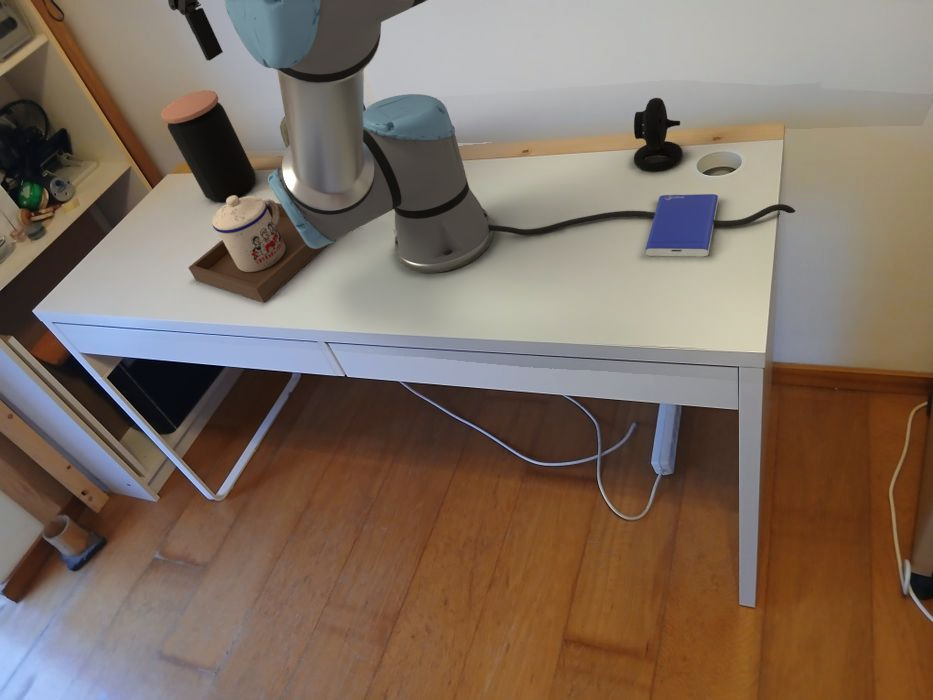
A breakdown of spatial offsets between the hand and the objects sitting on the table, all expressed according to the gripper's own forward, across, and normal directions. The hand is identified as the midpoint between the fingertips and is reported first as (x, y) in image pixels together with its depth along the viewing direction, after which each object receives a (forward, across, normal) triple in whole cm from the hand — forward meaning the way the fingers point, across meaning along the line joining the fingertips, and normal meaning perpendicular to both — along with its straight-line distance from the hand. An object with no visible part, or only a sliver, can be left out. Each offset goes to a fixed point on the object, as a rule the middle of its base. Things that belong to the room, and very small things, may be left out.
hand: (244, 58), depth 109 cm
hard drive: (+31, -57, -17) cm, 67 cm away
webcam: (+31, -46, -33) cm, 64 cm away
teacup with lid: (+30, +5, +8) cm, 32 cm away
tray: (+31, +5, +8) cm, 32 cm away
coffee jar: (+31, +31, -6) cm, 44 cm away
